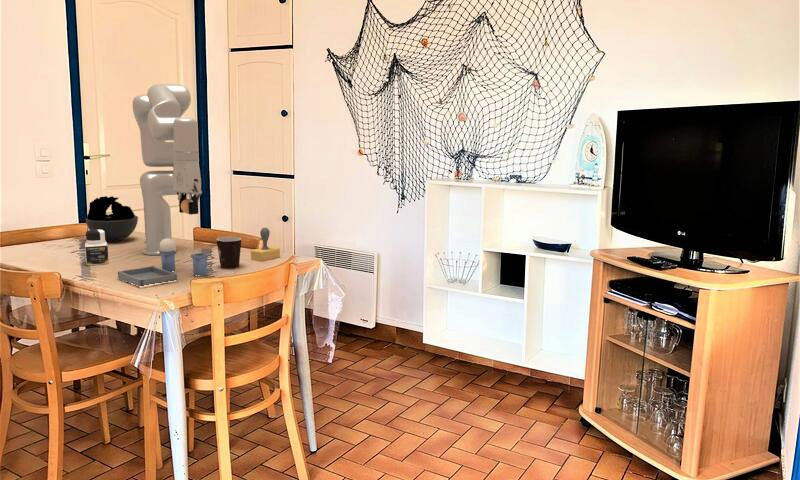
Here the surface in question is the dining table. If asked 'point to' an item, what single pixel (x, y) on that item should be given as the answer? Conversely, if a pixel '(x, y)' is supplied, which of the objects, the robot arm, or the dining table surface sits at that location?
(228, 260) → the coffee mug
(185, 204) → the ball
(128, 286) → the dining table surface
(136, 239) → the dining table surface
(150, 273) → the tray
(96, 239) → the medicine bottle
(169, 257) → the cup
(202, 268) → the cup
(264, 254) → the rubber stamp
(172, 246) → the ball
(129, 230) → the coal bowl
